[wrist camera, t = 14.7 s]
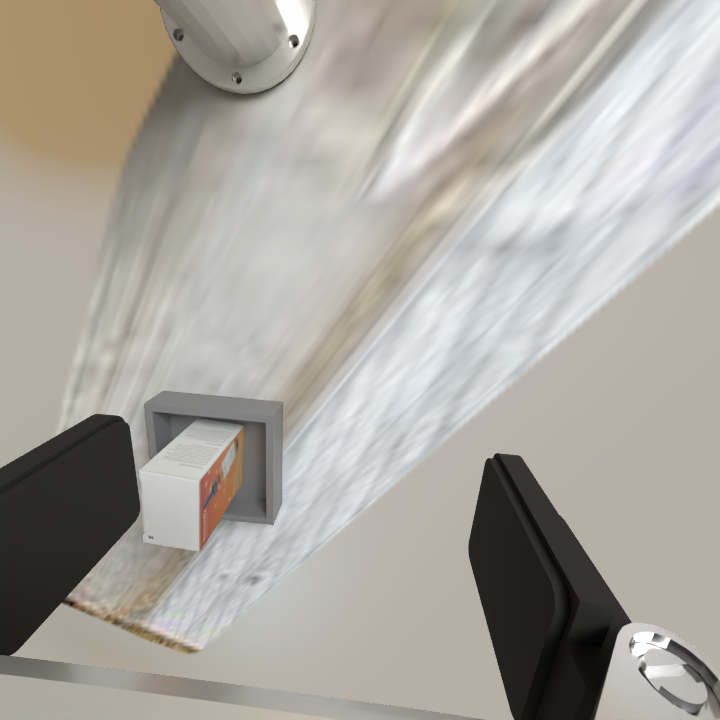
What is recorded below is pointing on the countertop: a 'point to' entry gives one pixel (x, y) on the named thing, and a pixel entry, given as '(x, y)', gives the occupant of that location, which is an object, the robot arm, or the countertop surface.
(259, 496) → the tray
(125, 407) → the countertop surface
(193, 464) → the small box
